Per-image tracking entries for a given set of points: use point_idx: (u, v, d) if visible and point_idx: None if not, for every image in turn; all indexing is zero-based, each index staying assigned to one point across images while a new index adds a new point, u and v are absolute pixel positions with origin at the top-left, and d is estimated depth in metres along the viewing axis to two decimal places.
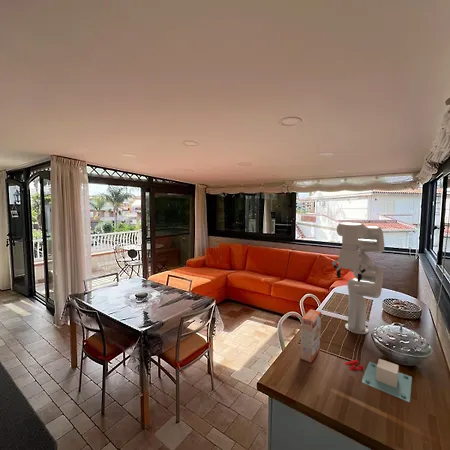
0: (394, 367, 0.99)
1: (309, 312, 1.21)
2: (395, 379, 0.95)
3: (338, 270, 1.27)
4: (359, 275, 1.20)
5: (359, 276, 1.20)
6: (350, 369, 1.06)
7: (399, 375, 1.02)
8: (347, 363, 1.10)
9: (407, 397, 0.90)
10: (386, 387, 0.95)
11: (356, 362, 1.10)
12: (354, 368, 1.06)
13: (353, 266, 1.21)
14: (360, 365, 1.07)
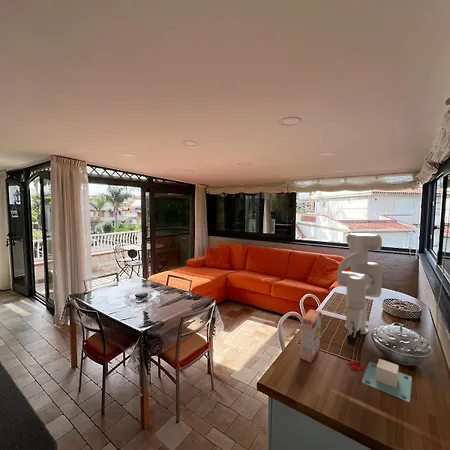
0: (394, 367, 0.99)
1: (309, 312, 1.21)
2: (395, 379, 0.95)
3: None
4: None
5: None
6: (350, 369, 1.06)
7: (399, 375, 1.02)
8: (348, 363, 1.10)
9: (407, 397, 0.90)
10: (386, 387, 0.95)
11: (357, 362, 1.09)
12: (354, 368, 1.06)
13: (361, 323, 1.07)
14: (360, 365, 1.07)
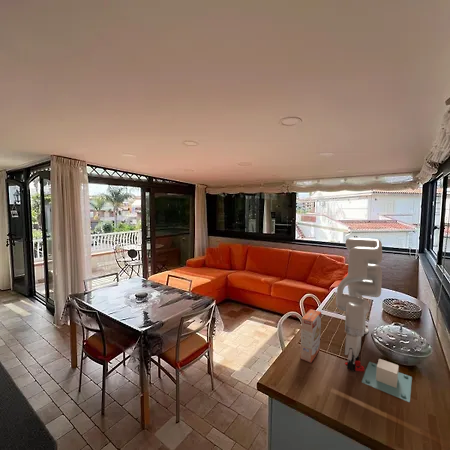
0: (394, 367, 0.99)
1: (309, 312, 1.21)
2: (395, 379, 0.95)
3: None
4: None
5: None
6: None
7: (399, 375, 1.02)
8: None
9: (407, 397, 0.90)
10: (386, 387, 0.95)
11: (358, 363, 1.09)
12: None
13: None
14: (361, 366, 1.06)
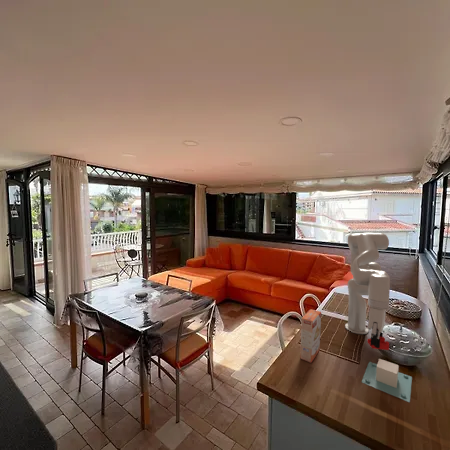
0: (394, 367, 0.99)
1: (309, 312, 1.21)
2: (395, 379, 0.95)
3: None
4: None
5: None
6: None
7: (399, 375, 1.02)
8: None
9: (407, 397, 0.90)
10: (386, 387, 0.95)
11: (382, 339, 1.02)
12: None
13: None
14: (386, 341, 0.99)
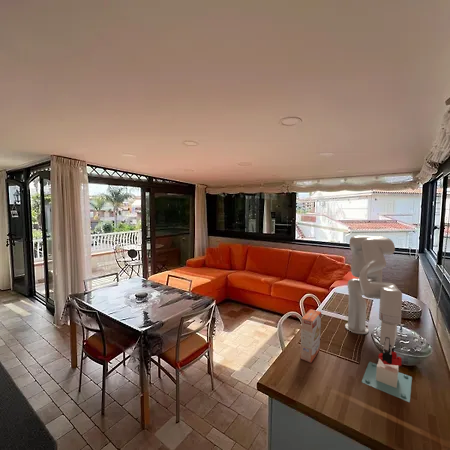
0: (394, 367, 0.99)
1: (309, 312, 1.21)
2: (395, 379, 0.95)
3: None
4: None
5: None
6: None
7: (399, 375, 1.02)
8: None
9: (407, 397, 0.90)
10: (386, 387, 0.95)
11: (394, 354, 0.99)
12: None
13: None
14: (398, 357, 0.97)
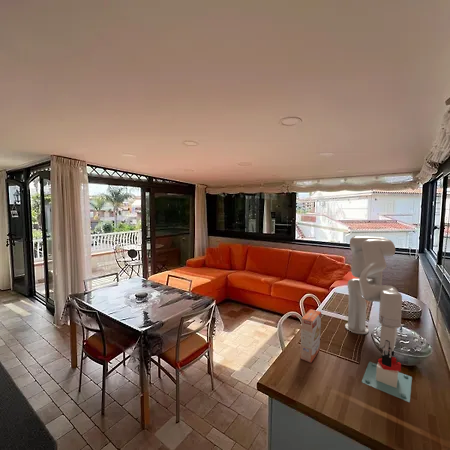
0: None
1: (309, 312, 1.21)
2: (395, 379, 0.95)
3: None
4: None
5: None
6: (385, 365, 0.97)
7: (399, 375, 1.02)
8: None
9: (407, 397, 0.90)
10: (386, 387, 0.95)
11: (393, 359, 1.00)
12: None
13: None
14: (397, 362, 0.97)
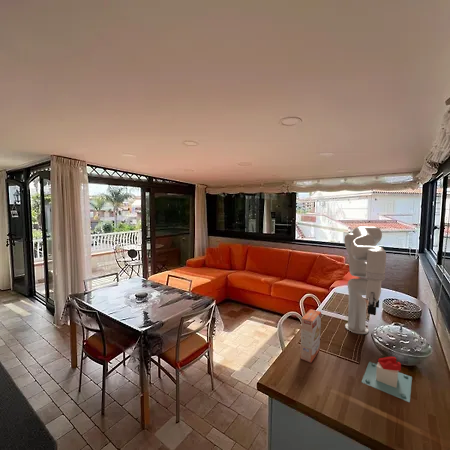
0: None
1: (309, 312, 1.21)
2: (395, 379, 0.95)
3: None
4: None
5: None
6: (385, 365, 0.98)
7: (399, 375, 1.02)
8: (382, 359, 1.01)
9: (407, 397, 0.90)
10: (386, 387, 0.95)
11: (393, 359, 1.00)
12: (390, 364, 0.97)
13: None
14: (397, 362, 0.97)
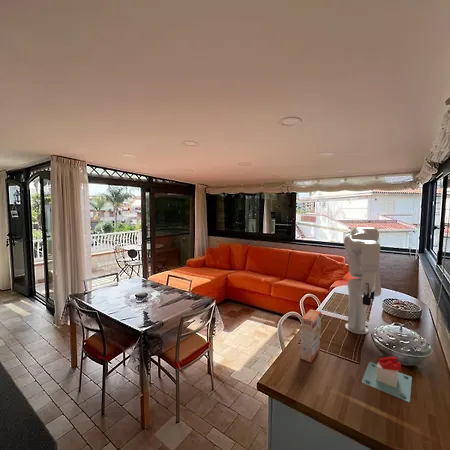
0: None
1: (309, 312, 1.21)
2: (395, 379, 0.95)
3: None
4: None
5: None
6: (385, 365, 0.98)
7: (399, 375, 1.02)
8: (382, 359, 1.01)
9: (407, 397, 0.90)
10: (386, 387, 0.95)
11: (393, 359, 1.00)
12: (390, 364, 0.97)
13: None
14: (397, 362, 0.97)
